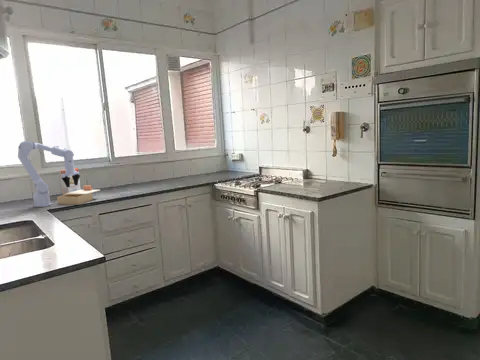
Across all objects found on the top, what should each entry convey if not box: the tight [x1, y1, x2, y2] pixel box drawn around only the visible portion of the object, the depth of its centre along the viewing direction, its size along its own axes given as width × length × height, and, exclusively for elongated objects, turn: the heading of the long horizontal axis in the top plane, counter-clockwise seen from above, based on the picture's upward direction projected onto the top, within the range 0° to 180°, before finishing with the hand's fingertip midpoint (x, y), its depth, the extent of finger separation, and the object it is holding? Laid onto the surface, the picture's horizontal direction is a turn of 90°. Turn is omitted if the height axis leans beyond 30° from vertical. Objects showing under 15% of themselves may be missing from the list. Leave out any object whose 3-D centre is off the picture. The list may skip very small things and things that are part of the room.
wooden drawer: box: [56, 193, 94, 205], centre depth 231 cm, size 17×14×5 cm
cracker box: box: [59, 167, 82, 196], centre depth 256 cm, size 14×6×21 cm, turn 168°
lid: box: [66, 184, 101, 194], centre depth 238 cm, size 18×14×4 cm
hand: (72, 186), depth 237 cm, fingers open, 7 cm apart
